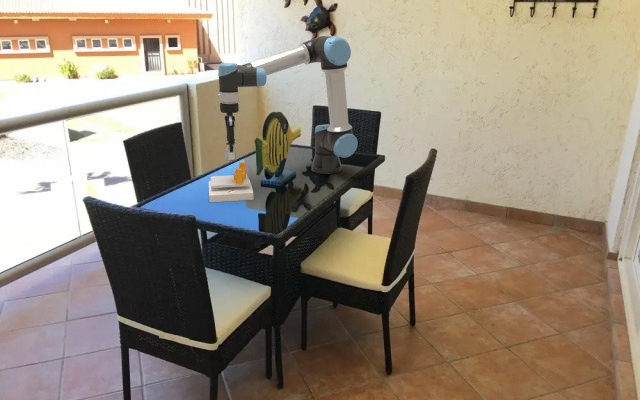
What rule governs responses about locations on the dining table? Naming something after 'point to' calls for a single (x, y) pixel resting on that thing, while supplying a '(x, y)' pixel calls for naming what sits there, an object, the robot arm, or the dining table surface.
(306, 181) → the dining table surface
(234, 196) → the scale
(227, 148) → the block
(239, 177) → the pipe clamp
